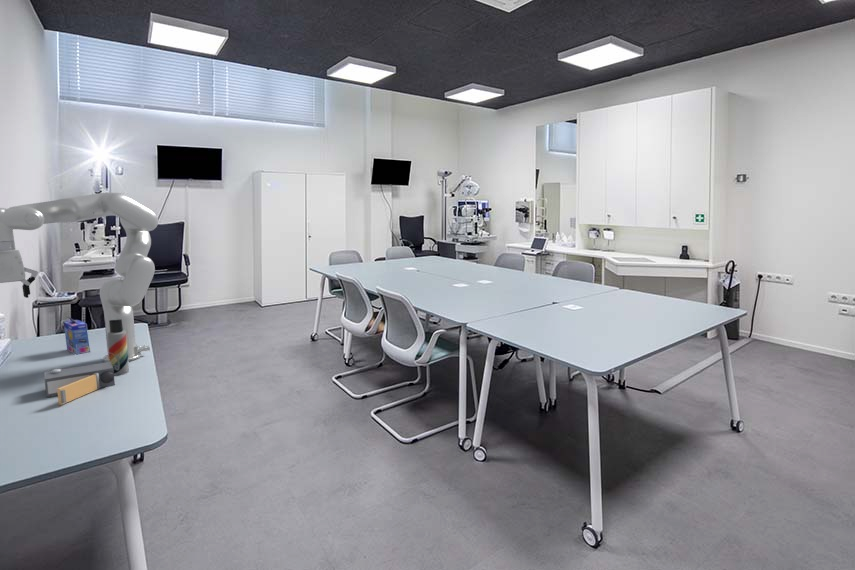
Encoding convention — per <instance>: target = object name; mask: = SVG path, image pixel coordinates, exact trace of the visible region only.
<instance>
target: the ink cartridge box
mask: <svg viewBox="0 0 855 570" xmlns="http://www.w3.org/2000/svg"><path fill="white" fill-rule="evenodd" d="M68 318H69V320H67V321H63V327H64V336H65V342H66V345H65V346H66V350H67V351H68V352H70V353H72V354H74V355H75V354H76V355H80V353H81V354H85V352H86V353H89V352H91V347H90V346H91V345H90V340H89V339H90V338H89V333H88V324H87V323H86V322H84V321H81V320H79V319H73V318H71V317H70V316H68Z"/></svg>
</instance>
